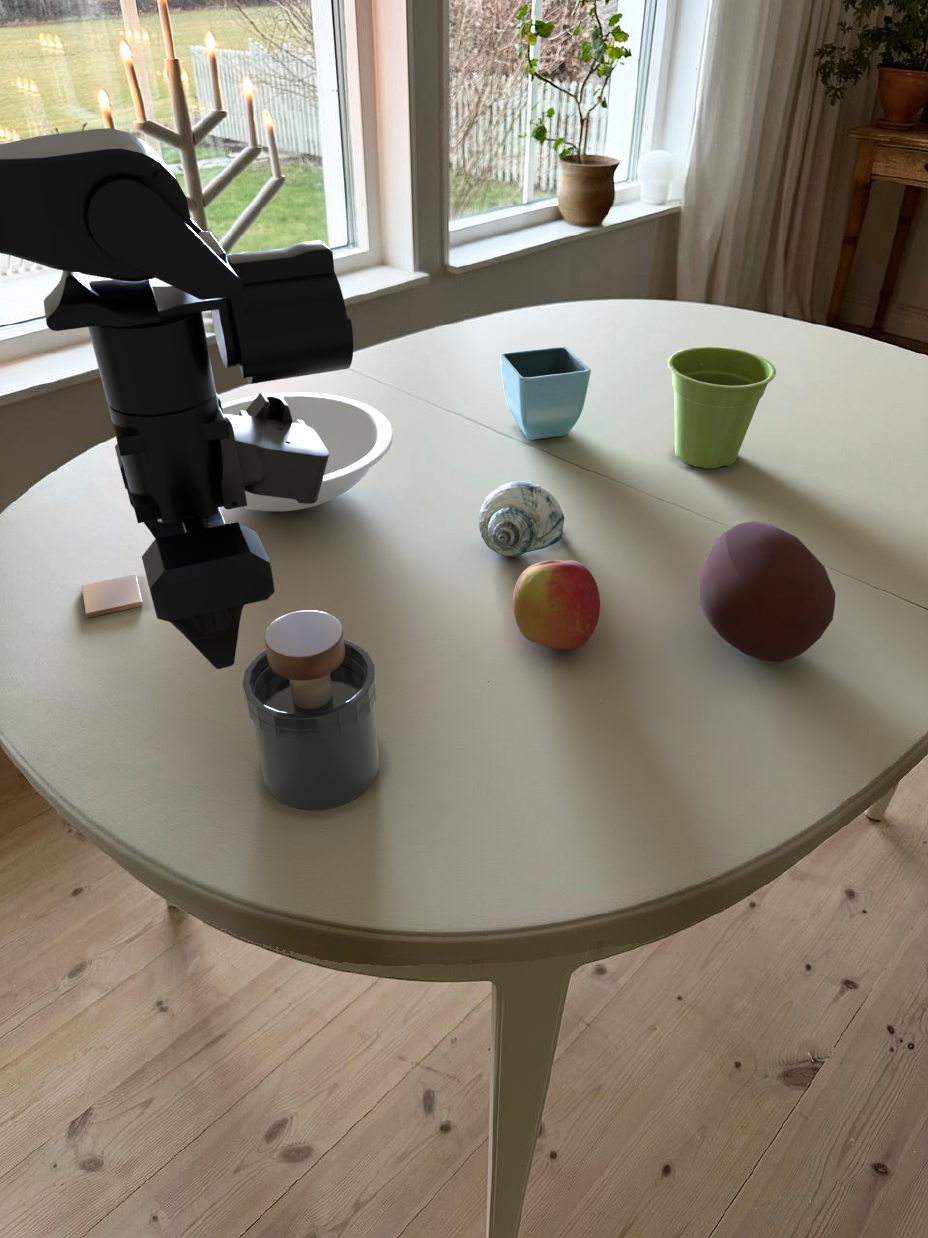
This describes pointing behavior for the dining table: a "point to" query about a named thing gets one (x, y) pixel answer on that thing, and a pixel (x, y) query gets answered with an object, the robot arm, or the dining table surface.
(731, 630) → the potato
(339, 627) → the mushroom
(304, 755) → the container
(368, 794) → the dining table surface
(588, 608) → the apple
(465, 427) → the dining table surface
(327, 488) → the soup bowl
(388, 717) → the dining table surface
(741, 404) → the plant pot
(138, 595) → the plate
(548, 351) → the flower pot
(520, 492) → the seashell
